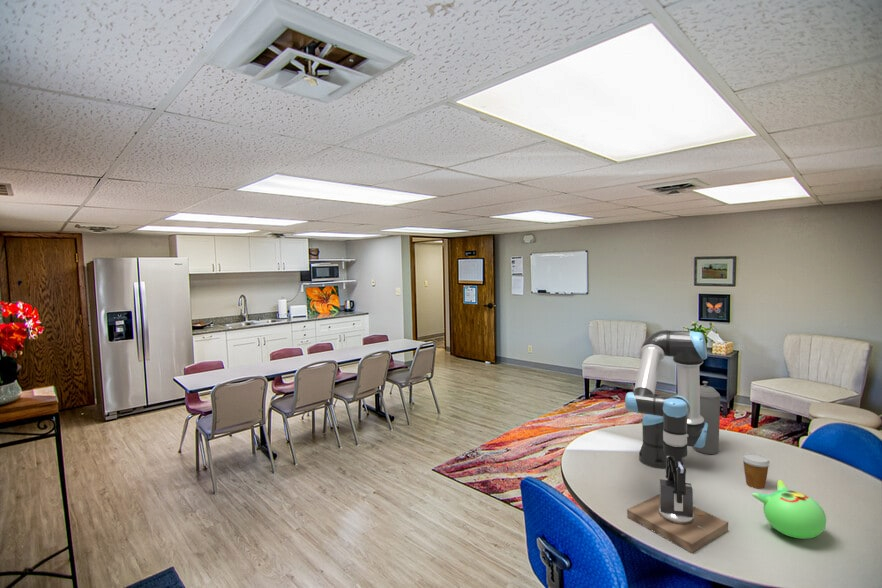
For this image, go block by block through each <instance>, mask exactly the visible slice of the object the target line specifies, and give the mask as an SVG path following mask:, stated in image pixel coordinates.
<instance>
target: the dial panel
mask: <svg viewBox="0 0 882 588" xmlns="http://www.w3.org/2000/svg"><path fill="white" fill-rule="evenodd" d="M659 506H660V493H659V494H657V495H655V496H652V497H651V498H648V499H646V500H644V501H642V502H639V503H638V504H636V505H633V506H631V507H629V508H628V509H626V516H627V518H628V519H630V520H631V519H632V521H634V522H635V521H636V522H635V523H636V524H638V525H640V524H641V525H640V526H642V525H644V526H645V527H644V526H643V527H644V528H646V527H647V528H646V529H648V528H649V529H651V530H653V531H655V532H656V533H655V532H654V533H655V534H657V533H658V534H660V535H662V536H663V537H662V536H661V537H662V538H664V537H665V538H664V539H666V538H667V539H668V540H667V539H666V540H667V541H669V540H670V541H669V542H671V541H672V542H671V543H673V544H674V545H676V544H677V546H678V545H679V546H678V547H680V548H682V549H684V550H685V549H686V551H687V550H688V553H691V554H693V553H694V551H695V552H696V551H698V550H699V549H701V548H703V547H704V546H706V545H707V544H709V543H711V542H712V541H714V540H716V539H717V538H718V537H720V536H722V535H724V534H725V533H726V532H728V531H729V522H728V521H726V520H723V519H721V518H719V517H717V516H715V515H713V514H711V513H708V512H706V511H704V510H703V509H700V508H697V507H696V506H693V514H694V520H693V522H692V523H689V524H677V523H673V522H670V521H668V520H666V519H664V518H663V517H662V516H661V515H660V514H659ZM649 529H648V530H649ZM651 530H650V531H651ZM653 531H652V532H653ZM658 534H657V535H658ZM660 535H659V536H660Z"/></svg>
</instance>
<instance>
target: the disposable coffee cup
mask: <svg viewBox="0 0 882 588" xmlns="http://www.w3.org/2000/svg"><path fill="white" fill-rule="evenodd" d="M741 460H742V461H743V469H744V475H745V483H746V485H747V486H748V487H750V488H752V487H753V489H756V490H757V489H758V490H764V489H766V484H767V477H768V473H769V472H768V471H769V467H770V465H771V462H770V460H769V458H768V457H767V456H765V455H762V454H760V453H759V454H758V453H751V452H746V453H743V455H742V457H741Z"/></svg>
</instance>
